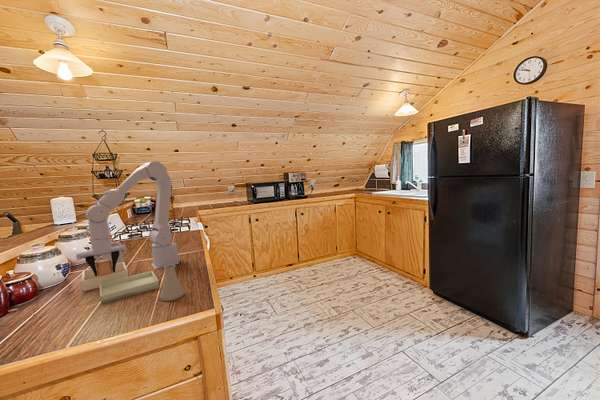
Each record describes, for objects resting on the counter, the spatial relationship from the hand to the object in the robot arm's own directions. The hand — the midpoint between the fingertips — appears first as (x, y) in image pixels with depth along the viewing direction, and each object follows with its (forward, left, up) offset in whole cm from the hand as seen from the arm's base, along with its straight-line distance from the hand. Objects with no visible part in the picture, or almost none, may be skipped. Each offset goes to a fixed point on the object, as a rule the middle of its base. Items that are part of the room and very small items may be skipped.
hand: (105, 273), depth 96 cm
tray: (-6, +15, -3) cm, 16 cm away
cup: (-2, -20, -3) cm, 20 cm away
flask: (-16, +31, -3) cm, 35 cm away
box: (0, 0, -3) cm, 3 cm away
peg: (0, 0, -2) cm, 2 cm away
